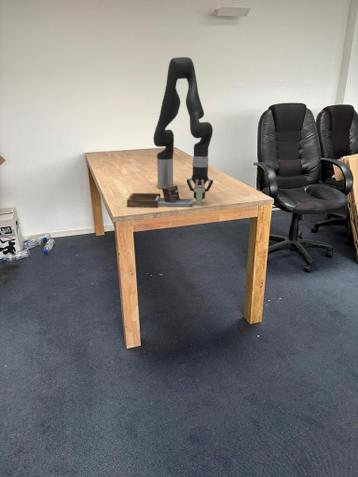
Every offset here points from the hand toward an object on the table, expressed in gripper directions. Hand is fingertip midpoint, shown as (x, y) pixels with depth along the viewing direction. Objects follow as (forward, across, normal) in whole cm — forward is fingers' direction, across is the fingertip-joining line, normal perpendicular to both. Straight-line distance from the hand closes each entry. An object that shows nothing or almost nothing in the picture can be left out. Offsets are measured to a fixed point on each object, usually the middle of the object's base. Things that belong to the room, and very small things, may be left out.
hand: (199, 198), depth 183 cm
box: (+2, +14, 0) cm, 14 cm away
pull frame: (+3, +10, 0) cm, 11 cm away
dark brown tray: (+3, +28, 0) cm, 28 cm away
